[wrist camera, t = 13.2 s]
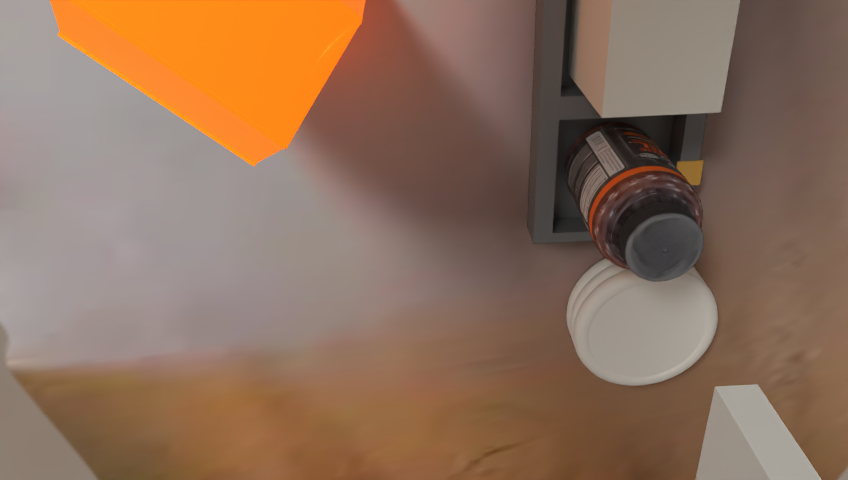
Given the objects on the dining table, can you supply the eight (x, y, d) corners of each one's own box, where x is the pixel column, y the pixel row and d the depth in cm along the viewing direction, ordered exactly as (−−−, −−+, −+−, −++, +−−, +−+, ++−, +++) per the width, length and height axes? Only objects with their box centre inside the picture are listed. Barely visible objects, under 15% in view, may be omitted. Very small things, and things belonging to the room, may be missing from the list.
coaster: (693, 352, 54) (711, 383, 51) (563, 363, 54) (573, 395, 51) (709, 238, 49) (730, 264, 46) (565, 250, 49) (577, 277, 46)
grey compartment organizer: (538, -62, 39) (571, -40, 32) (722, -70, 39) (797, -50, 32) (527, 226, 48) (551, 295, 41) (677, 219, 48) (728, 286, 41)
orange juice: (295, 72, 42) (226, 232, 25) (163, -26, 40) (-21, 78, 22) (375, -37, 40) (359, 58, 22) (238, -150, 37) (97, -145, 19)
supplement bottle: (673, 146, 45) (751, 230, 35) (616, 219, 48) (674, 317, 38) (598, 101, 44) (658, 176, 34) (543, 179, 46) (583, 270, 36)
